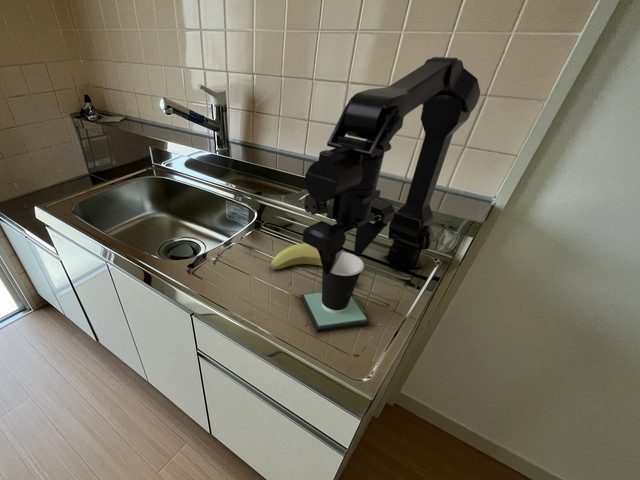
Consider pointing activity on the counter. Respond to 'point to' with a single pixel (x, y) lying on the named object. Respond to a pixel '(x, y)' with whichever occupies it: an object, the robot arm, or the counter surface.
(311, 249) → the banana
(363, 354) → the counter surface
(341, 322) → the scale
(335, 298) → the dixie cup
